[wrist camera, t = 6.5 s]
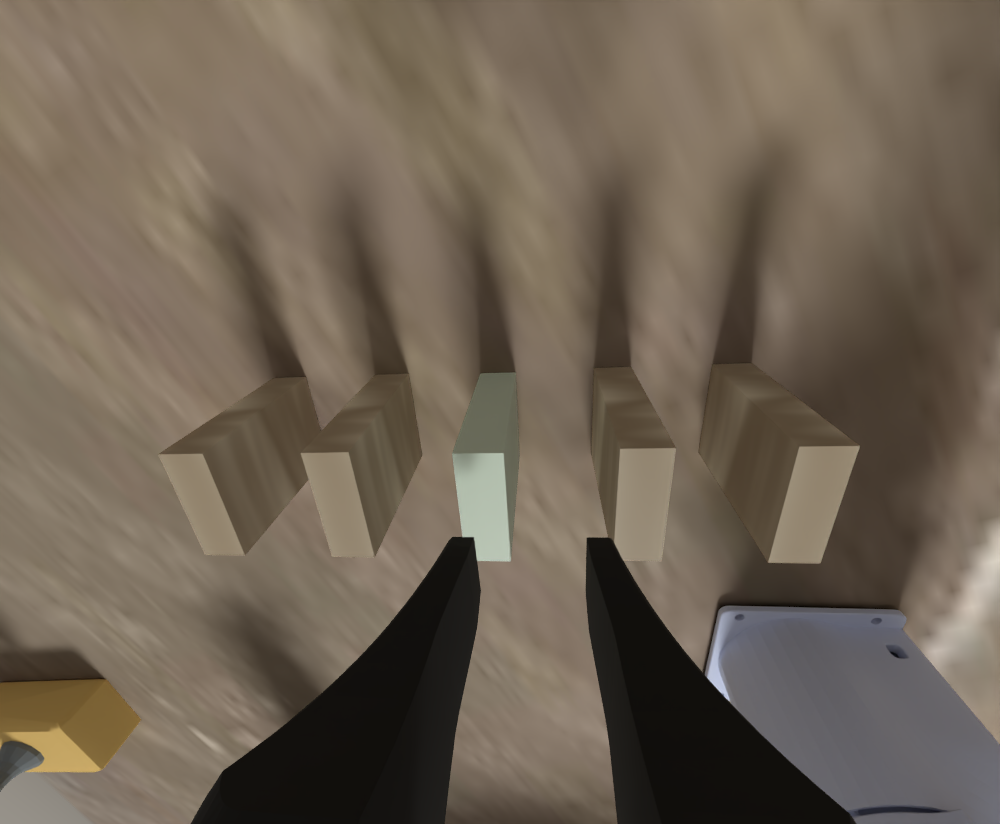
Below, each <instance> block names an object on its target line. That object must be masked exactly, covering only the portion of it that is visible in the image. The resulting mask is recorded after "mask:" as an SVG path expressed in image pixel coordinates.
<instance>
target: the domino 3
mask: <svg viewBox="0 0 1000 824" xmlns="http://www.w3.org/2000/svg"><path fill="white" fill-rule="evenodd" d="M452 456H453V464H454V472H455V480H456V488H457V496H458V504H459V512H460V520H461V528H462V536H463V537H474V541H475V549H476V557H477V561H511V552H512V541H513V529H514V517H515V505H516V493H517V481H518V469H519V458H520V453H519V432H518V411H517V390H516V372H511V373H480V376H479V379H478V382H477V385H476V388H475V390H474V393H473V396H472V399H471V402H470V405H469V407H468V410H467V413H466V416H465V419H464V421H463V424H462V427H461V430H460V433H459V436H458V438H457V441H456V444H455V447H454V450H453V453H452Z"/></svg>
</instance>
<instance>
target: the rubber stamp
mask: <svg viewBox="0 0 1000 824" xmlns="http://www.w3.org/2000/svg"><path fill="white" fill-rule="evenodd" d="M140 720H141V719H140V718H139V717H138V715H137V714H136V713H135V712H134V711H133V710H132V708H131V707H130V706H129V705H128V704H127V703H126V702H125V700H124V699H123V698H122V697H121V696H120V695H119V694H118V692H117V691H116V690H115V689H114V688H113V687H112V685H111V684H110V683H109V682H108V681H107V680H106V679H85V680H57V681H29V682H2V683H0V791H1V790H2V789H3V788H4V786H5V785H6V784H7V783H8V782H9V781H10V780H11V779H13V778H14V777H16V776H17V775H18V774H20V773H22V772H97V771H100V770H102V769H103V768H104V767H105V766H106V765H107V764H108V762H109V761H110V760H111V759H112V757H113V756H114V755H115V753H116V752H117V751H118V749H119V748H120V747H121V746H122V744H123V743H124V742H125V740H126V739H127V738H128V736H129V735H130V734H131V733H132V731H133V730H134V729H135V727H136V726H137V725H138V723H139V722H140Z"/></svg>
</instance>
